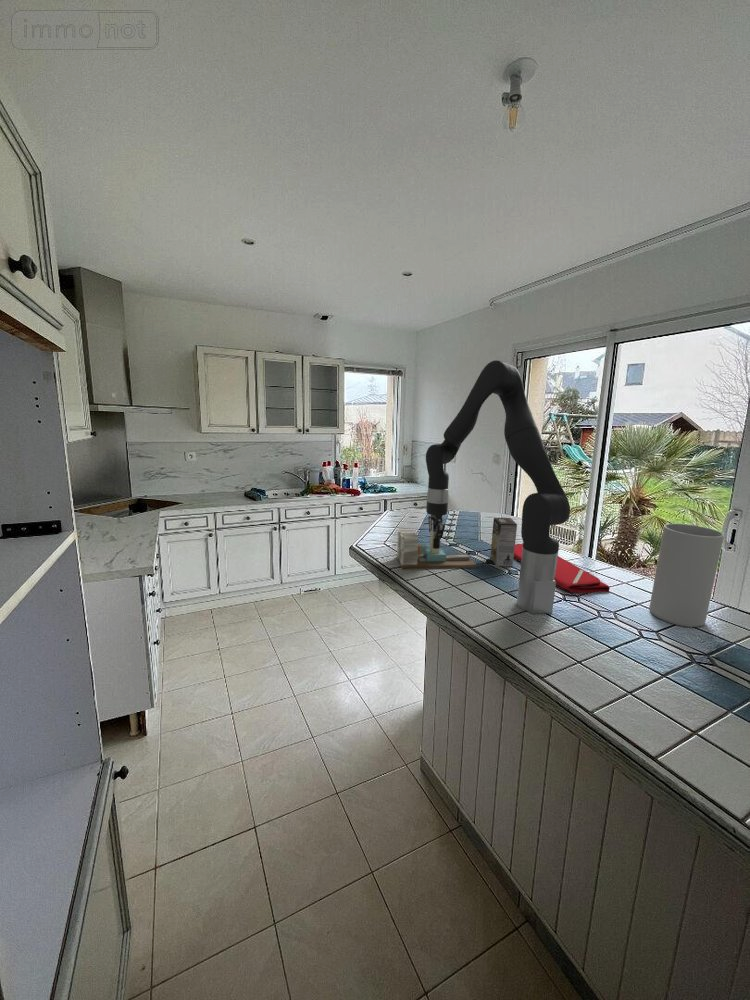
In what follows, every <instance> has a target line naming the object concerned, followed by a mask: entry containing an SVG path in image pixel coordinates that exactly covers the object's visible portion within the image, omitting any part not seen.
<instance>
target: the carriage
mask: <svg viewBox="0 0 750 1000" xmlns="http://www.w3.org/2000/svg"><path fill="white" fill-rule="evenodd" d="M433 534H434V532H432V530H431V535H430V539H429V540H430V541H429V542H430V543H429V544H430V545H429V548H428V549H427V546H426V545H425V544H419V545H420V546H421V554H423V556H425V557H426V562H435V561H445V560H446V554H447V553H445V551H444V550H443V549H442V548H441V546H440V547H439V548H438V549H434V548H433V539H434V538H433ZM438 535H439V534H438Z"/></svg>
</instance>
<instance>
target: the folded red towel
mask: <svg viewBox="0 0 750 1000" xmlns="http://www.w3.org/2000/svg"><path fill="white" fill-rule="evenodd" d="M522 549H523V543H520V544H515V549H514V558H513V559H516V560H517V561H519V562H520V563H521V558H522ZM555 581H556V586H559V587H560V588H563V589H565V590H566V591H568V592H571V593H573V594H589V593H604V592H605V593H607V592H608V593H609V592H610V586H609V585H608V584H606V583H604V582H603V581H601V579H599V577H598V576H595V575H593V574H592V573H590V572H588V571H586V570H585V569H582V568H580V567H578V566H577V565H575V564H573V563H571V562H570V561H568V560H566V559H564V558H562V557H561V556H559V555H558V558H557V566H556V574H555Z"/></svg>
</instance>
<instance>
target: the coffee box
mask: <svg viewBox="0 0 750 1000" xmlns="http://www.w3.org/2000/svg"><path fill="white" fill-rule="evenodd" d="M517 529H518V524H517V522H515V521H514V520H513V519H512V518H511V517H493V524H492V535H491V536H492V537H491V544H490V545H491V548H490V559H491V560H492V562H493V563H494V565H495V566H497V567H513V566H514V559H515V558H514V549H515V545H516V538H517Z"/></svg>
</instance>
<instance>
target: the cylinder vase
mask: <svg viewBox="0 0 750 1000" xmlns="http://www.w3.org/2000/svg"><path fill="white" fill-rule="evenodd" d="M724 538H725V534H724V533H723V532H721V531H719V530H716V529H713V528H709V527H705V526H699V525H694V524H686V523H685V524H684V523H666V524H664V525H663V530H662V536H661V541H660V546H659V552H658V557H657V558H658V559H657V563H656V570H655V574H654V579H653V585H652V590H651V596H650V601H649V602H650V603H649V611H650V613H651V614H652V615H654V616H655V617H656V618H658V619H659V620H661V621H664V622H666V623H670V624H673V625H676V626H680V627H685V628H686V627H687V628H699V627H702V626H704V625H705V624H706V622H707V621H706V620H707V616H708V611H709V606H710V602H711V597H712V593H713V588H714V583H715V580H716V574H717V570H718V564H719V560H720V555H721V551H722V547H723V542H724Z"/></svg>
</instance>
